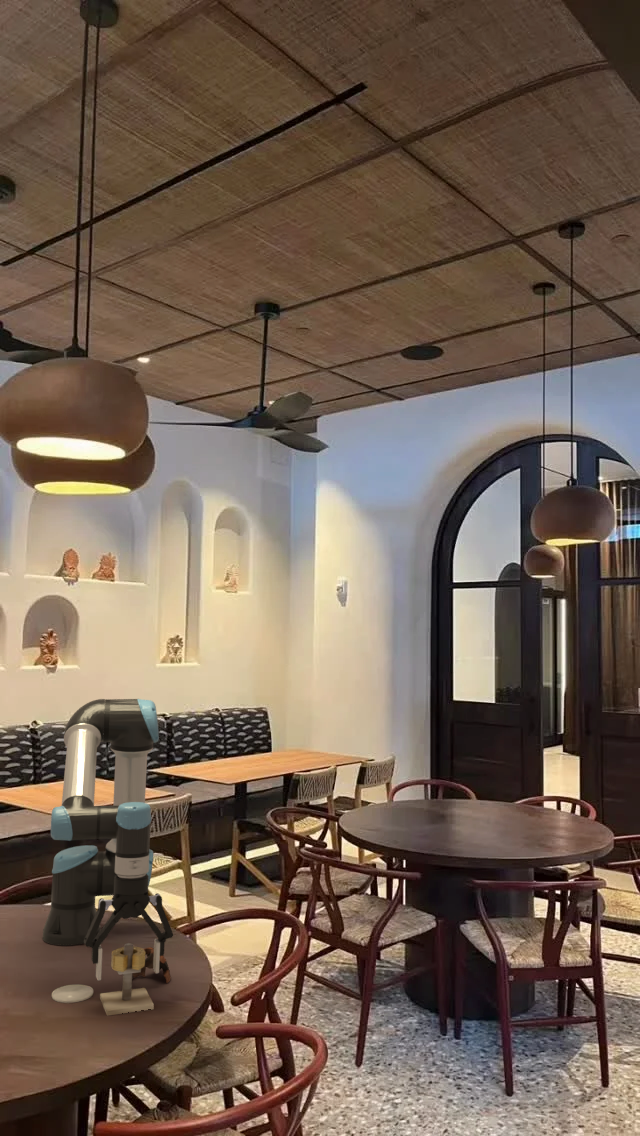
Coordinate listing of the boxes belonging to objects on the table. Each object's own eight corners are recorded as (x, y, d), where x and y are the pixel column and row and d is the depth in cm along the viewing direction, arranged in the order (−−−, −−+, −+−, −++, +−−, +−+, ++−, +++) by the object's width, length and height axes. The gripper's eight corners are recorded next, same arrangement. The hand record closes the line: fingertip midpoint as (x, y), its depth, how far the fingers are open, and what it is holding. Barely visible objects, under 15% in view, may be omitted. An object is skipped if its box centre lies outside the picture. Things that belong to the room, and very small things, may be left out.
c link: (109, 962, 192) (110, 948, 192) (140, 958, 194) (141, 945, 195) (114, 973, 186) (115, 958, 186) (146, 969, 188) (147, 954, 189)
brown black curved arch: (169, 990, 198) (152, 960, 197) (134, 1005, 200) (117, 976, 199) (180, 959, 210) (164, 931, 209) (147, 973, 211) (131, 945, 211)
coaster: (49, 990, 196) (50, 987, 196) (90, 985, 199) (90, 982, 199) (53, 1005, 188) (53, 1002, 188) (95, 999, 191) (95, 996, 191)
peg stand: (99, 998, 192) (102, 940, 193) (144, 992, 196) (146, 935, 197) (106, 1015, 183) (109, 954, 184) (153, 1009, 186) (155, 949, 188)
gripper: (78, 882, 184) (73, 987, 182) (188, 873, 193) (185, 973, 191) (73, 874, 191) (69, 975, 189) (180, 866, 200) (177, 962, 198)
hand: (127, 974), depth 190 cm, fingers open, 12 cm apart
